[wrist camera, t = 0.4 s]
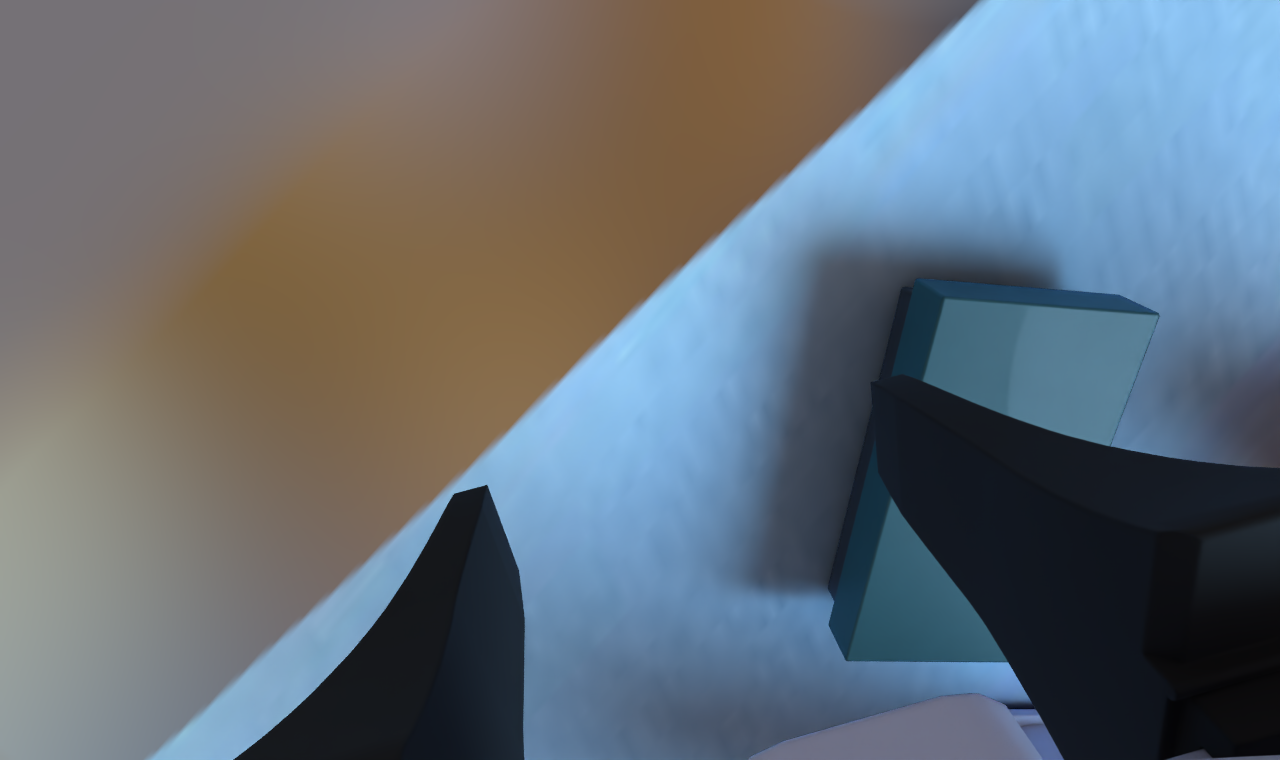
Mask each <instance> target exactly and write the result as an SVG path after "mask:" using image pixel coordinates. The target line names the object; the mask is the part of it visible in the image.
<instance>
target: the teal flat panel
mask: <svg viewBox="0 0 1280 760" xmlns="http://www.w3.org/2000/svg"><path fill="white" fill-rule="evenodd" d="M1158 319H1159V313H1157V312H1155V311H1153V310H1151V309H1149V308H1146V307H1144V306H1142V305H1140V304H1138V303H1136V302H1133V301H1131V300H1129V299H1127V298H1125V297H1123V296H1121V295H1115V294H1103V293H1091V292H1079V291H1067V290H1055V289H1042V288H1030V287H1018V286H1006V285H994V284H981V283H969V282H957V281H945V280H933V279H921V278H918V279H916V280H915V283H914V287H913V288H911V287H903V288H902V289H901V293H900V297H899V301H898V305H897V309H896V313H895V318H894V322H893V326H892V330H891V334H890V338H889V342H888V346H887V350H886V354H885V358H884V362H883V366H882V370H881V374H880V378H879V380H882V379H885V378H889V377H893V376H897V375H900V374H904V375H907V376H910V377H913V378H916V379H918V380H921V381H923V382H926V383H928V384H930V385H933V386H935V387H938V388H940V389H942V390H945V391H947V392H949V393H952V394H954V395H957V396H959V397H961V398H964V399H966V400H969V401H971V402H973V403H976V404H978V405H981V406H983V407H986V408H988V409H991V410H994V411H996V412H999V413H1001V414H1004V415H1007V416H1010V417H1012V418H1015V419H1018V420H1021V421H1024V422H1027V423H1030V424H1032V425H1035V426H1038V427H1041V428H1044V429H1047V430H1050V431H1054V432H1057V433H1061V434H1064V435H1067V436H1071V437H1075V438H1079V439H1083V440H1087V441H1090V442H1094V443H1098V444H1102V445H1106V446H1111V443H1112V440H1113V438H1114V435H1115V432H1116V430H1117V427H1118V424H1119V422H1120V419H1121V417H1122V414H1123V411H1124V409H1125V406H1126V403H1127V401H1128V398H1129V395H1130V393H1131V390H1132V387H1133V385H1134V382H1135V380H1136V377H1137V374H1138V372H1139V369H1140V366H1141V364H1142V361H1143V358H1144V356H1145V353H1146V351H1147V348H1148V345H1149V343H1150V340H1151V337H1152V335H1153V332H1154V329H1155V327H1156V324H1157V322H1158ZM828 590H829V592H830V594H831V596H832V598H833V600H834V605H833V609H832V613H831V617H830V621H829V627H830V629H831V631H832V633H833V635H834V637H835V639H836V641H837V644H838V646H839V648H840V650H841V652H842V654H843V656H844V658H845V660H846V661H901V662H1008V661H1007V659H1006V658H1005V656H1004V655H1003V653H1002V651H1001V650H1000V648H999V646H998V645H997V643H996V642H995V640H994V638H993V637H992V635H991V633H990V632H989V630H988V628H987V627H986V625H985V624H984V622H983V621H982V619H981V618H980V617H979V615H978V614H977V612H976V611H975V609H974V608H973V607H972V605H971V604H970V602H969V601H968V600H967V599H966V597H965V596H964V595H963V593H962V592H961V591H960V590H959V588H958V587H957V586H956V585H955V583H954V582H953V581H952V579H951V578H950V577H949V576H948V574H947V573H946V572H945V570H944V569H943V568H942V567H941V565H940V564H939V563H938V561H937V560H936V559H935V558H934V556H933V555H932V554H931V552H930V551H929V550H928V549H927V547H926V546H925V545H924V543H923V542H922V541H921V540H920V538H919V537H918V536H917V534H916V533H915V532H914V530H913V529H912V528H911V526H910V525H909V524H908V522H907V521H906V520H905V518H904V517H903V516H902V514H901V512H900V511H899V509H898V507H897V506H896V504H895V502H894V501H893V499H892V497H891V495H890V494H889V492H888V490H887V488H886V486H885V484H884V483H883V481H882V479H881V477H880V475H879V473H878V466H877V454H876V441H875V429H874V417H873V407H872V411H871V415H870V419H869V423H868V427H867V431H866V435H865V439H864V443H863V447H862V452H861V456H860V460H859V464H858V468H857V472H856V476H855V480H854V484H853V488H852V492H851V496H850V500H849V504H848V508H847V512H846V517H845V521H844V525H843V529H842V533H841V537H840V541H839V545H838V549H837V553H836V557H835V561H834V565H833V569H832V573H831V577H830V581H829V586H828Z"/></svg>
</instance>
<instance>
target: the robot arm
mask: <svg viewBox="0 0 1280 760" xmlns="http://www.w3.org/2000/svg"><path fill="white" fill-rule="evenodd" d="M871 392H872V404H873V417H874V429H875V441H876V454H877V466H878V473H879V475H880V477H881V479H882V481H883V483H884V484H885V486H886V488H887V490H888V492H889V494H890V495H891V497H892V499H893V501H894V502H895V504H896V506H897V507H898V509H899V511H900V512H901V514H902V516H903V517H904V518H905V520H906V521H907V522H908V524H909V525H910V526H911V528H912V529H913V530H914V532H915V533H916V534H917V536H918V537H919V538H920V540H921V541H922V542H923V543H924V545H925V546H926V547H927V549H928V550H929V551H930V552H931V554H932V555H933V556H934V558H935V559H936V560H937V561H938V563H939V564H940V565H941V567H942V568H943V569H944V570H945V572H946V573H947V574H948V576H949V577H950V578H951V579H952V581H953V582H954V583H955V585H956V586H957V587H958V588H959V590H960V591H961V592H962V593H963V595H964V596H965V597H966V599H967V600H968V601H969V602H970V604H971V605H972V607H973V608H974V609H975V611H976V612H977V614H978V615H979V617H980V618H981V619H982V621H983V622H984V624H985V625H986V627H987V628H988V630H989V632H990V633H991V635H992V637H993V638H994V640H995V642H996V643H997V645H998V646H999V648H1000V650H1001V651H1002V653H1003V655H1004V656H1005V658H1006V659H1007V661H1008V663H1009V664H1010V666H1011V668H1012V669H1013V671H1014V673H1015V674H1016V676H1017V678H1018V680H1019V681H1020V683H1021V685H1022V686H1023V688H1024V690H1025V692H1026V693H1027V695H1028V697H1029V698H1030V700H1031V702H1032V704H1033V705H1034V707H1035V709H1008V708H1007V707H1006V705H1005V704H1002V703H1000V702H998V701H995V700H993V699H990V698H988V697H986V696H983V695H981V694H975V693H969V694H959V695H948V696H939V697H936V698H932V699H929V700H925V701H922V702H918V703H915V704H911V705H908V706H904V707H901V708H897V709H894V710H890V711H887V712H883V713H880V714H876V715H873V716H869V717H866V718H862V719H859V720H855V721H852V722H848V723H845V724H841V725H838V726H834V727H831V728H827V729H824V730H820V731H817V732H813V733H810V734H806V735H803V736H799V737H796V738H792V739H789V740H785V741H782V742H780V743H778V744H776V745H774V746H772V747H770V748H767V749H765V750H763V751H761V752H759V753H757V754H755V755H753V756H751V757H750V758H749V759H748V760H1280V468H1265V467H1246V466H1235V465H1226V464H1216V463H1207V462H1197V461H1190V460H1183V459H1176V458H1169V457H1163V456H1157V455H1152V454H1146V453H1141V452H1135V451H1130V450H1125V449H1120V448H1115V447H1111V446H1106V445H1102V444H1098V443H1094V442H1090V441H1087V440H1083V439H1079V438H1075V437H1071V436H1067V435H1064V434H1061V433H1057V432H1054V431H1050V430H1047V429H1044V428H1041V427H1038V426H1035V425H1032V424H1030V423H1027V422H1024V421H1021V420H1018V419H1015V418H1012V417H1010V416H1007V415H1004V414H1001V413H999V412H996V411H994V410H991V409H988V408H986V407H983V406H981V405H978V404H976V403H973V402H971V401H969V400H966V399H964V398H961V397H959V396H957V395H954V394H952V393H949V392H947V391H945V390H942V389H940V388H938V387H935V386H933V385H930V384H928V383H926V382H923V381H921V380H918V379H916V378H913V377H910V376H907V375H904V374H900V375H897V376H893V377H889V378H885V379H882V380H878V381H874V382H871ZM524 639H525V618H524V609H523V600H522V592H521V584H520V576H519V570H518V567H517V564H516V561H515V559H514V556H513V553H512V551H511V548H510V545H509V543H508V540H507V537H506V534H505V532H504V529H503V526H502V524H501V521H500V518H499V516H498V513H497V510H496V507H495V505H494V502H493V499H492V497H491V494H490V491H489V488H488V486H487V485H485V486H481V487H478V488H474V489H470V490H466V491H463V492H459V493H455V494H454V495H453V497H452V498H451V500H450V501H449V503H448V505H447V507H446V509H445V510H444V512H443V514H442V516H441V518H440V520H439V522H438V523H437V525H436V527H435V529H434V531H433V533H432V534H431V536H430V538H429V540H428V542H427V544H426V545H425V547H424V549H423V550H422V552H421V554H420V556H419V557H418V559H417V561H416V562H415V564H414V566H413V568H412V569H411V571H410V573H409V574H408V576H407V577H406V579H405V581H404V582H403V584H402V585H401V587H400V588H399V590H398V591H397V593H396V594H395V596H394V597H393V599H392V600H391V602H390V603H389V605H388V606H387V608H386V609H385V610H384V612H383V613H382V614H381V616H380V617H379V618H378V620H377V621H376V622H375V624H374V625H373V626H372V627H371V629H370V630H369V631H368V632H367V634H366V635H365V636H364V637H363V638H362V640H361V641H360V642H359V643H358V644H357V646H356V647H355V648H354V649H353V650H352V651H351V653H350V654H349V655H348V656H347V657H346V658H345V659H344V660H343V661H342V662H341V663H340V664H339V665H338V666H337V668H336V669H335V670H334V671H333V672H332V673H331V674H330V675H329V676H328V677H327V678H326V679H325V680H324V681H323V682H322V683H321V684H320V685H319V686H318V687H317V689H316V690H315V691H314V692H313V693H311V694H310V695H309V696H308V697H307V698H306V699H305V700H304V701H303V702H302V703H301V704H300V705H299V706H298V707H297V708H295V709H294V710H293V711H292V712H291V713H290V714H289V715H288V716H287V717H285V718H284V719H283V720H282V721H281V722H280V723H279V724H277V725H276V726H275V727H274V728H273V729H272V730H271V731H269V732H268V733H267V734H266V735H265V736H263V737H262V738H261V739H260V740H258V741H257V742H256V743H255V744H253V745H252V746H251V747H250V748H248V749H247V750H246V751H244V752H243V753H242V754H240V755H239V756H238V757H236V758H235V759H234V760H524V742H523V705H524Z"/></svg>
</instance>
